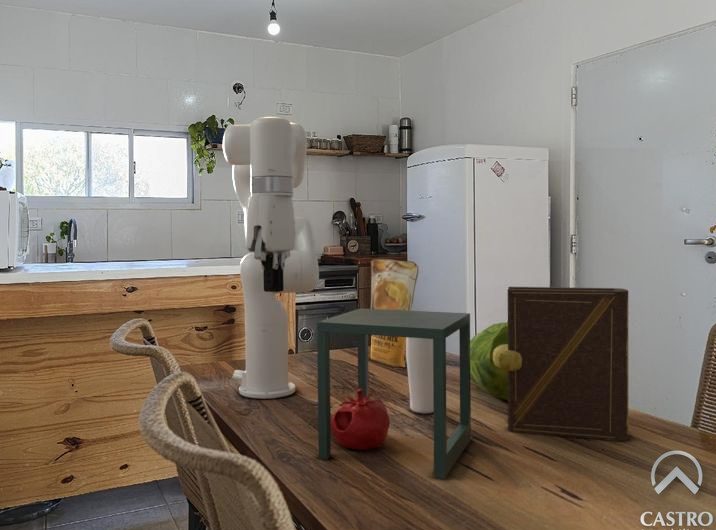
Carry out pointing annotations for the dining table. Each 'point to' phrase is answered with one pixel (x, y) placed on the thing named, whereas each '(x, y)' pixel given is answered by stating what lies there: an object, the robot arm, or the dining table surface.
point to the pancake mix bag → (391, 304)
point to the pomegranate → (360, 423)
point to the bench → (438, 330)
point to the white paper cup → (420, 374)
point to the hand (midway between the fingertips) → (273, 291)
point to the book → (567, 361)
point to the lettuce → (489, 360)
